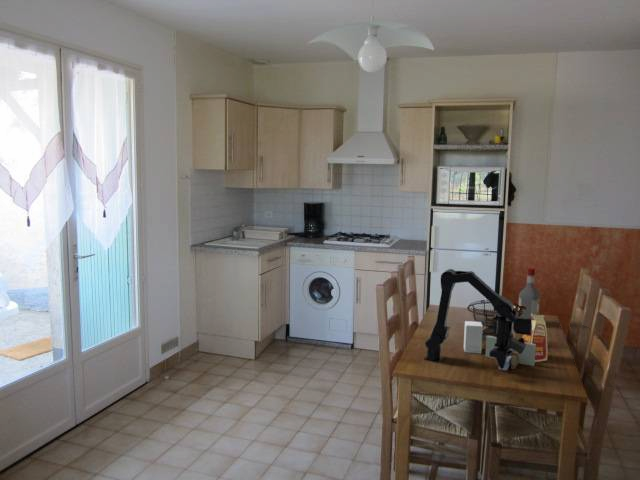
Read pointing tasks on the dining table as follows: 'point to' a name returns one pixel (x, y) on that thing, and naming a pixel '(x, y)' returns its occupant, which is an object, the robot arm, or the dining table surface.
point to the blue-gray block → (507, 363)
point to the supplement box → (473, 337)
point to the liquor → (529, 296)
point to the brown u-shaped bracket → (514, 359)
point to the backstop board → (524, 358)
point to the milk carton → (538, 337)
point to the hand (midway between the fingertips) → (501, 368)
